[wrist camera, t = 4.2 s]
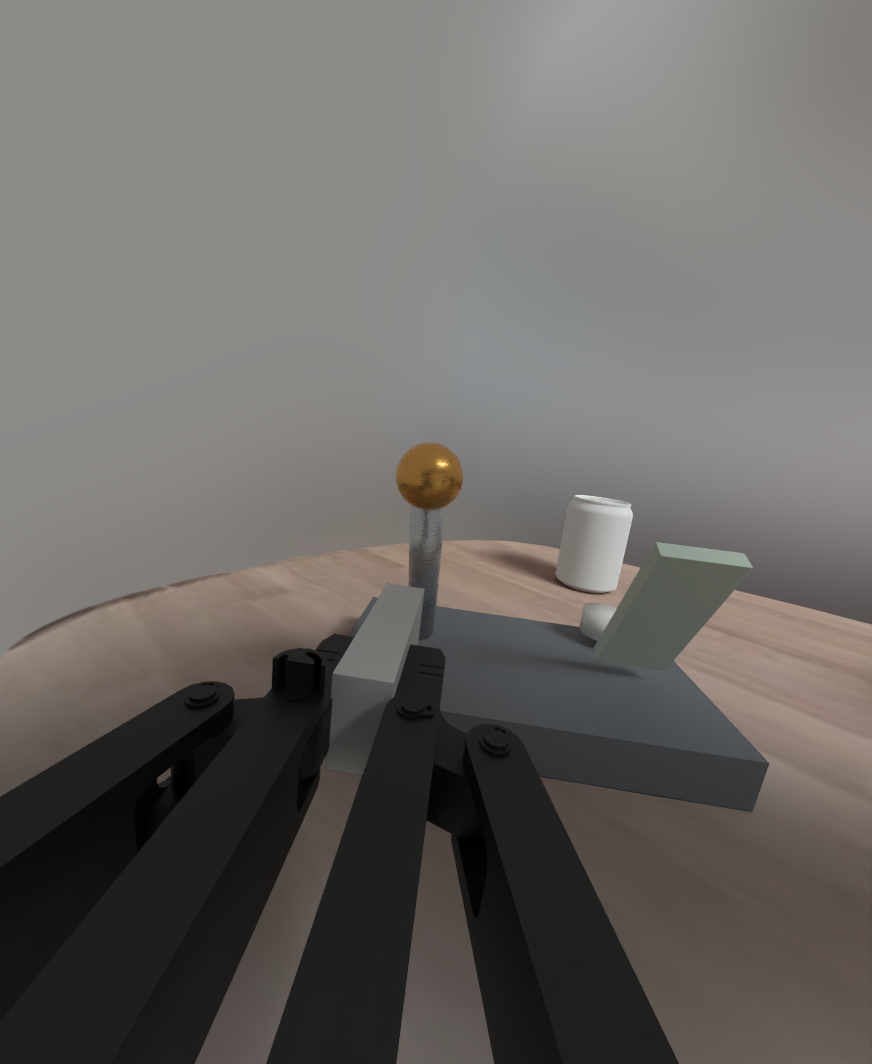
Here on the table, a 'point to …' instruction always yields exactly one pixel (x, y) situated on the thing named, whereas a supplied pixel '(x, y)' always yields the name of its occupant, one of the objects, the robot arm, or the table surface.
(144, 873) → the robot arm
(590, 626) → the white push button
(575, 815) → the table surface
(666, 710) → the switch panel
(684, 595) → the sage paddle
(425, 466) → the steel toggle lever
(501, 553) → the table surface
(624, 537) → the beverage can
